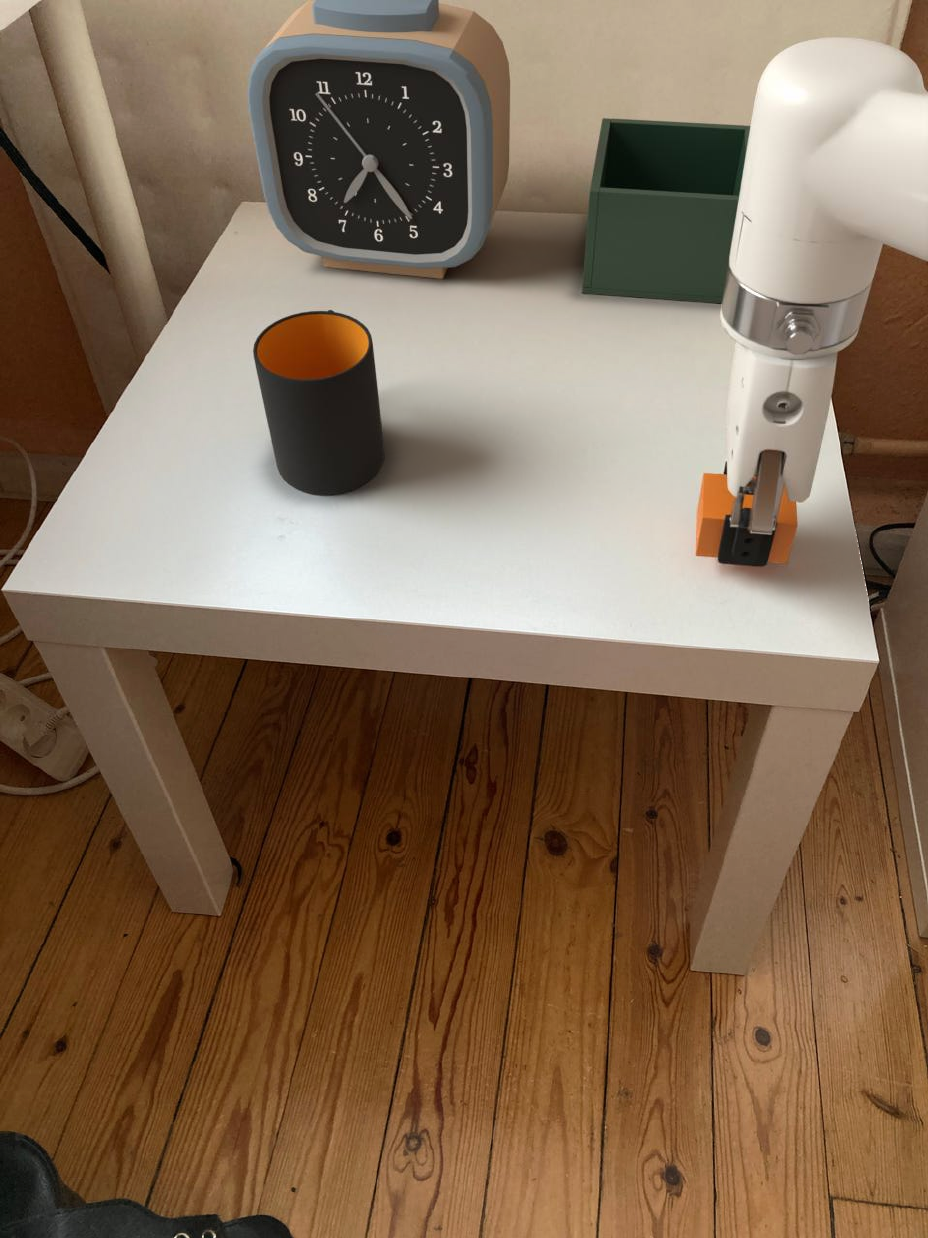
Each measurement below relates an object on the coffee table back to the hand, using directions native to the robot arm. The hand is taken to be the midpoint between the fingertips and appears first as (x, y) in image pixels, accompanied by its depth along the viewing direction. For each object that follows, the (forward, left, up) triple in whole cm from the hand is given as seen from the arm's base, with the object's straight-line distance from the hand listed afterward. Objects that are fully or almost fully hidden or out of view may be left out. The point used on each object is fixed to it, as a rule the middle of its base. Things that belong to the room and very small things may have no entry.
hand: (741, 533), depth 70 cm
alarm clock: (+32, -36, -2) cm, 48 cm away
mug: (+31, -8, -2) cm, 32 cm away
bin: (+7, -38, -2) cm, 38 cm away
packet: (0, 0, 0) cm, 0 cm away
